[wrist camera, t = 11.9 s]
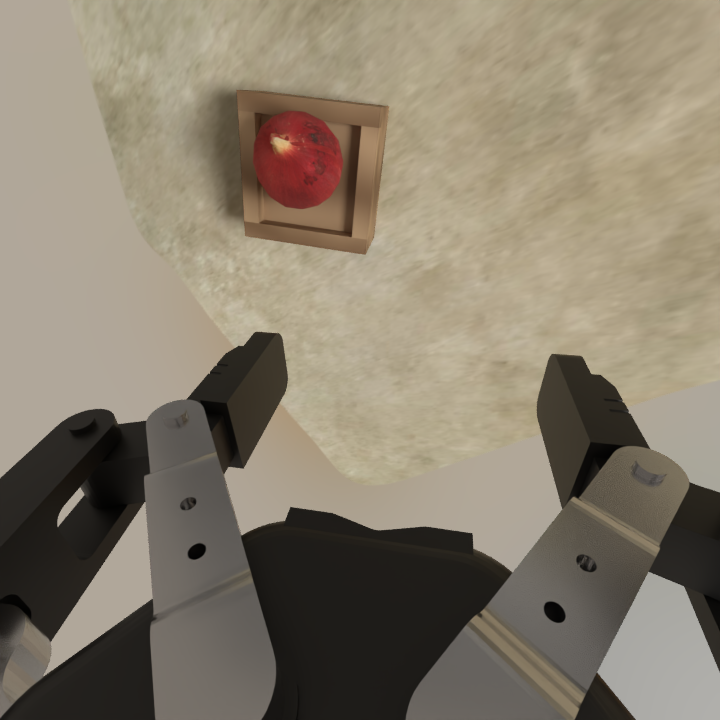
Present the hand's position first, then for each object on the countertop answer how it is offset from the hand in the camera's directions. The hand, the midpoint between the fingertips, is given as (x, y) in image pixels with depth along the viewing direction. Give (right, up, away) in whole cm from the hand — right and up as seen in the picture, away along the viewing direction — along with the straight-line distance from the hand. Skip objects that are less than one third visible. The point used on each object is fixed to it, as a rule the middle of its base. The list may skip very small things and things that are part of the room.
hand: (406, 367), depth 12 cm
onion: (-5, +14, +18) cm, 24 cm away
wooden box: (-5, +16, +22) cm, 28 cm away
